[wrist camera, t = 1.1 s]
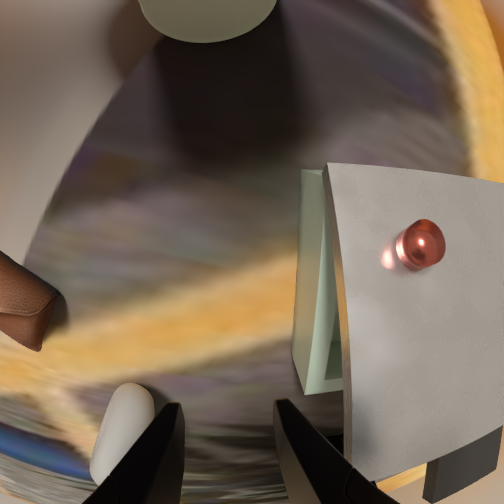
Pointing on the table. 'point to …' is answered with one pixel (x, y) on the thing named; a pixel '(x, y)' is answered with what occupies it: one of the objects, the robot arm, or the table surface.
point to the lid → (419, 321)
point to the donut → (120, 428)
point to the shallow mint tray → (316, 295)
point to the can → (205, 18)
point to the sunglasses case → (24, 303)
